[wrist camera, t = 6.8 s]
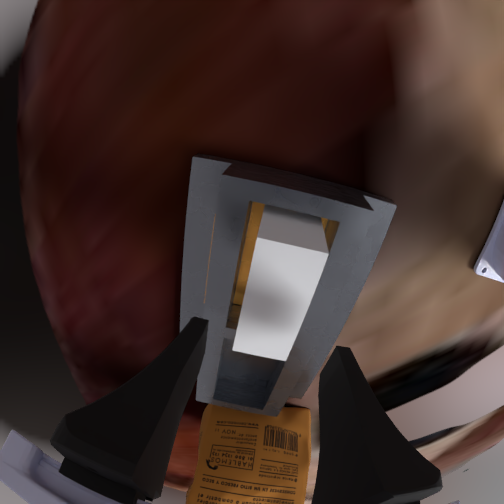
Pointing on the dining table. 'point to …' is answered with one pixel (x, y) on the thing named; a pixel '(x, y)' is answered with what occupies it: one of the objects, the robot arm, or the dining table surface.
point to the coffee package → (252, 457)
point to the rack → (238, 267)
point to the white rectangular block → (280, 282)
